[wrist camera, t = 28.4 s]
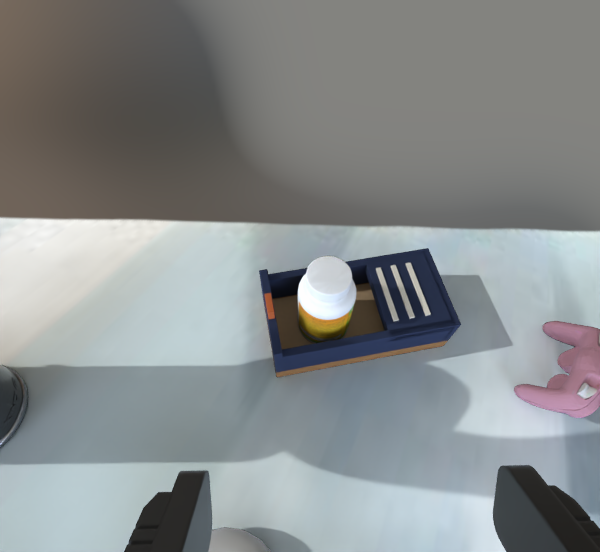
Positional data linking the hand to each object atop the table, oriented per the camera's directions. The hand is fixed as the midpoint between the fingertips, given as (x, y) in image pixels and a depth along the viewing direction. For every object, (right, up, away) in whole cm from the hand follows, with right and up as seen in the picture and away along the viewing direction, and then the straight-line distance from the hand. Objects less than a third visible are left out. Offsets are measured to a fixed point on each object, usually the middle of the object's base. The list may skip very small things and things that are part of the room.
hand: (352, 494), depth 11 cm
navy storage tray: (+4, +1, +34) cm, 34 cm away
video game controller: (+25, -4, +31) cm, 40 cm away
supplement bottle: (+1, +1, +32) cm, 32 cm away
